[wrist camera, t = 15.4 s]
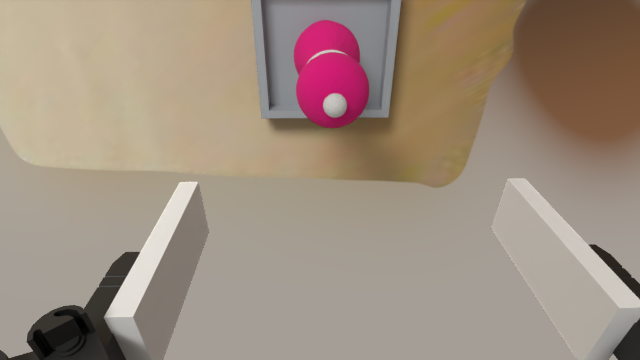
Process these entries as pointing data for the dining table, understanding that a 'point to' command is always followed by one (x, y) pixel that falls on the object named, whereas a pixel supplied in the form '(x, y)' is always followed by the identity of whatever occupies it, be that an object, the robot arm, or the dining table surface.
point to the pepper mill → (330, 75)
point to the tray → (298, 14)
